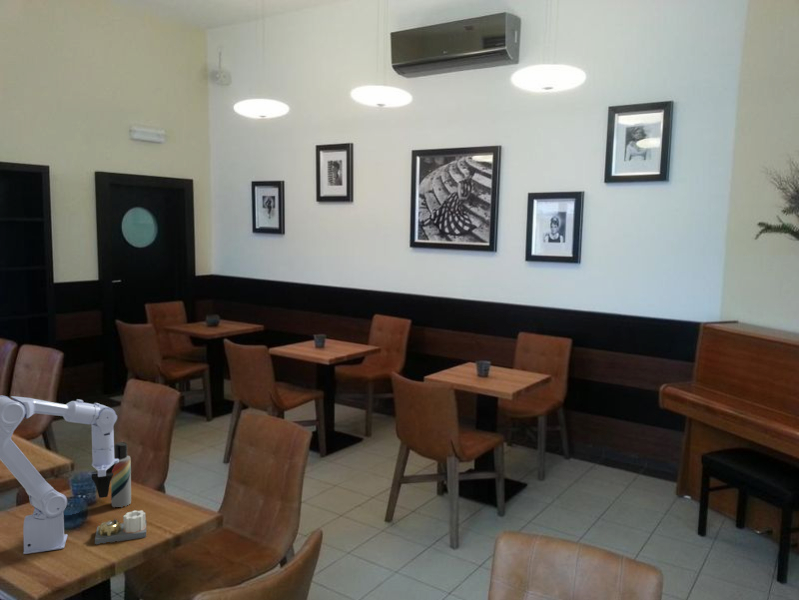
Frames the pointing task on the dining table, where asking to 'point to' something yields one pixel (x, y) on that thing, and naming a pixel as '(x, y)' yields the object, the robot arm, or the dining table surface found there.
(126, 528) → the loose gear
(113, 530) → the gear
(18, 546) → the dining table surface
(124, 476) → the lotion bottle
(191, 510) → the dining table surface
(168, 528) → the dining table surface
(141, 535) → the board
